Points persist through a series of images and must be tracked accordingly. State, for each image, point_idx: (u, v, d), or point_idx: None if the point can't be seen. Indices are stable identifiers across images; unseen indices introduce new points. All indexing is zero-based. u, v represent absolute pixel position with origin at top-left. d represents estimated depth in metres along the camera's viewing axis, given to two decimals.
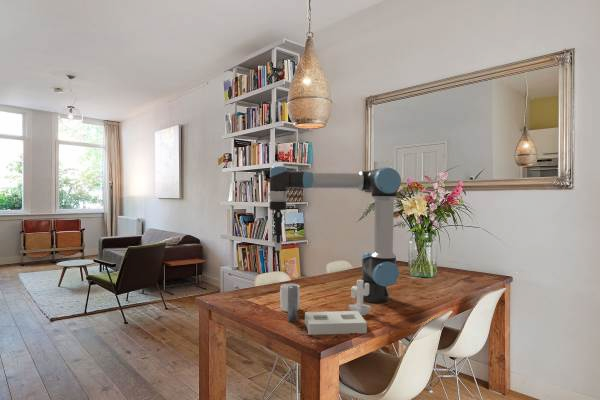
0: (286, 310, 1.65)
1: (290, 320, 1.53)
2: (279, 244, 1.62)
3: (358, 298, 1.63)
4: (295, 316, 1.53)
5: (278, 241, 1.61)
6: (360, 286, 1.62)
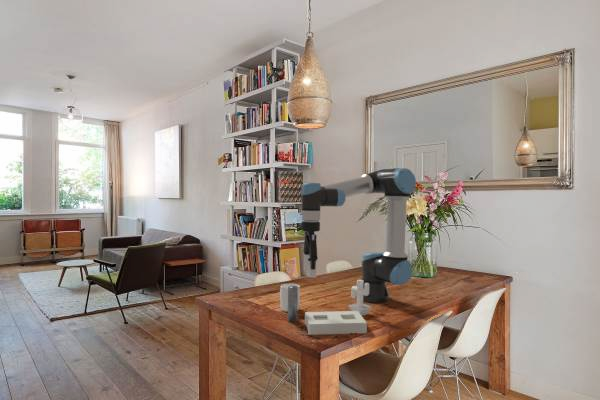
0: (286, 310, 1.65)
1: (290, 320, 1.53)
2: (314, 270, 1.44)
3: (358, 298, 1.63)
4: (295, 316, 1.53)
5: (313, 267, 1.43)
6: (360, 286, 1.62)
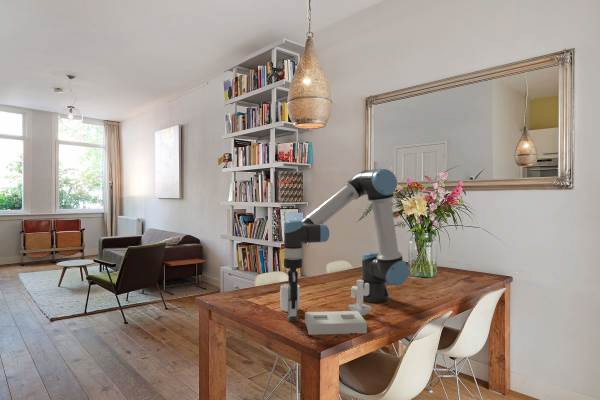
0: (286, 310, 1.65)
1: (290, 320, 1.53)
2: (294, 310, 1.52)
3: (358, 298, 1.63)
4: (295, 316, 1.53)
5: (293, 307, 1.51)
6: (360, 286, 1.62)
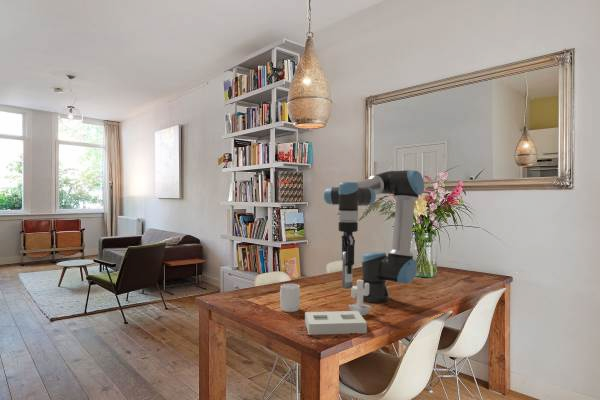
0: (286, 310, 1.65)
1: (345, 286, 1.46)
2: (350, 275, 1.45)
3: (358, 298, 1.63)
4: (351, 282, 1.46)
5: (349, 272, 1.44)
6: (360, 286, 1.62)
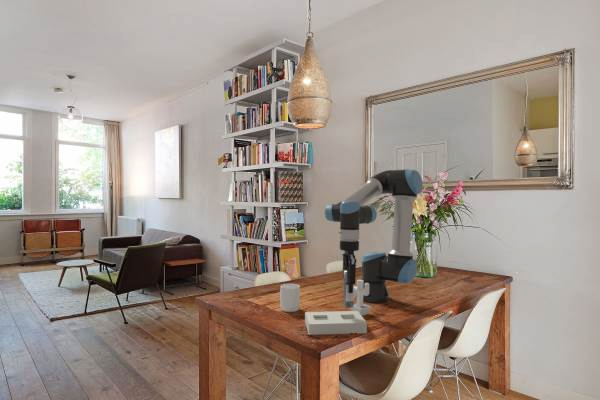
0: (286, 310, 1.65)
1: (346, 305, 1.46)
2: (351, 294, 1.45)
3: (358, 298, 1.63)
4: (352, 301, 1.46)
5: (351, 291, 1.44)
6: (360, 286, 1.62)
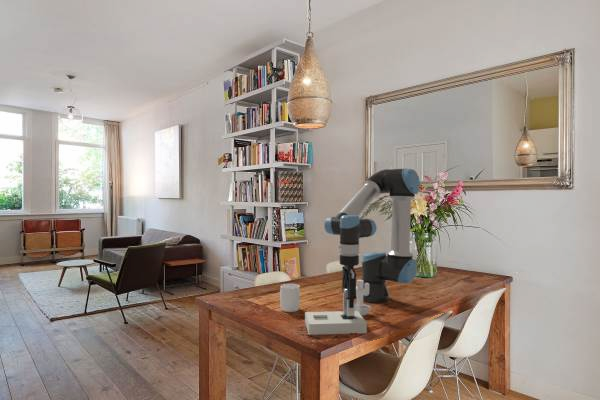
0: (286, 310, 1.65)
1: None
2: (352, 309, 1.44)
3: (358, 298, 1.63)
4: None
5: (351, 306, 1.43)
6: (360, 286, 1.62)
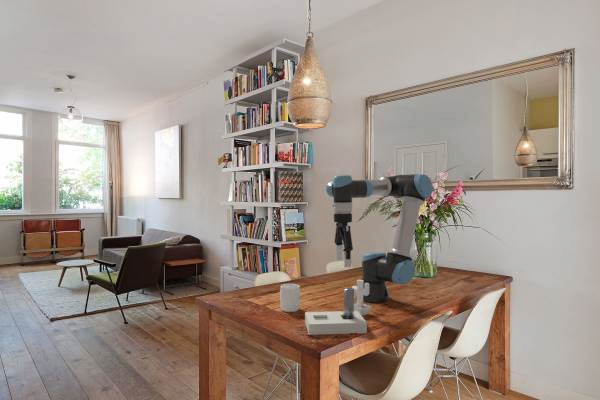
0: (286, 310, 1.65)
1: None
2: (349, 260, 1.49)
3: (358, 298, 1.63)
4: None
5: (348, 257, 1.47)
6: (360, 286, 1.62)
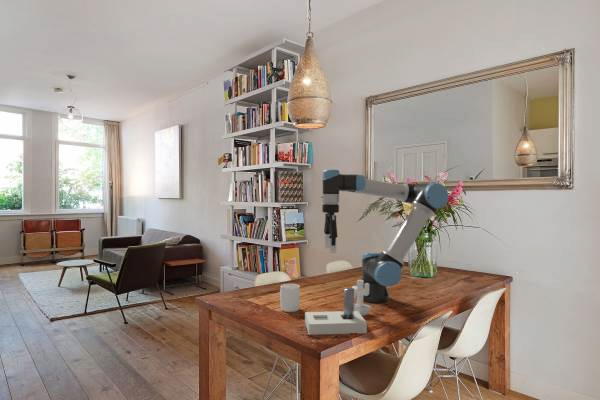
0: (286, 310, 1.65)
1: None
2: (334, 247, 1.63)
3: (358, 298, 1.63)
4: None
5: (333, 244, 1.62)
6: (360, 286, 1.62)
